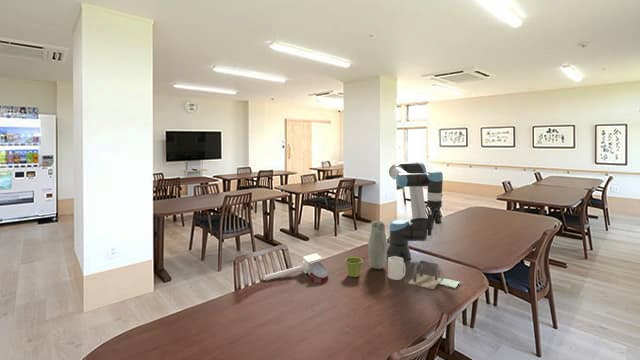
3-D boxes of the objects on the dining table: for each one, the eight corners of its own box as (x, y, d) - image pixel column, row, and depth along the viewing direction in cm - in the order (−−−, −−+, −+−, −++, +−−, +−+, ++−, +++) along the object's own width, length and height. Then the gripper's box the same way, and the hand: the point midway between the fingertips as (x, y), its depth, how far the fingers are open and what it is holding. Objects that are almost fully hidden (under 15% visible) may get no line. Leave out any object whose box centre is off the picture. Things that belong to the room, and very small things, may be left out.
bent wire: (412, 281, 175) (413, 265, 174) (420, 275, 184) (420, 259, 183) (430, 286, 170) (431, 269, 169) (437, 279, 178) (438, 263, 177)
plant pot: (351, 279, 181) (351, 264, 180) (342, 273, 189) (342, 258, 188) (365, 276, 185) (365, 261, 184) (356, 270, 193) (356, 256, 192)
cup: (398, 283, 175) (399, 264, 174) (384, 275, 186) (385, 257, 185) (411, 280, 179) (411, 262, 178) (396, 272, 190) (396, 255, 189)
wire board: (408, 283, 175) (408, 281, 175) (418, 274, 186) (418, 273, 186) (433, 290, 167) (433, 288, 167) (442, 280, 178) (442, 278, 178)
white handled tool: (322, 258, 187) (265, 273, 176) (324, 272, 189) (268, 289, 178) (316, 253, 196) (262, 267, 185) (318, 267, 197) (264, 282, 186)
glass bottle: (365, 268, 196) (365, 221, 193) (375, 263, 204) (375, 218, 200) (379, 273, 189) (380, 224, 186) (389, 267, 197) (390, 221, 194)
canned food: (323, 284, 187) (331, 268, 187) (324, 290, 177) (333, 273, 177) (305, 275, 186) (313, 259, 186) (305, 280, 176) (314, 263, 176)
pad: (439, 285, 173) (439, 283, 173) (444, 280, 179) (444, 278, 179) (455, 289, 168) (455, 287, 168) (460, 283, 174) (460, 281, 174)
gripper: (435, 204, 170) (433, 245, 173) (447, 197, 191) (446, 233, 193) (420, 203, 174) (419, 242, 177) (433, 196, 195) (432, 231, 197)
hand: (433, 238), depth 185 cm, fingers open, 13 cm apart
